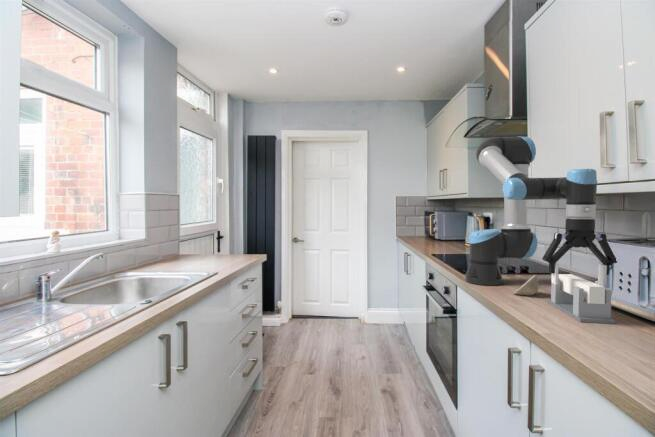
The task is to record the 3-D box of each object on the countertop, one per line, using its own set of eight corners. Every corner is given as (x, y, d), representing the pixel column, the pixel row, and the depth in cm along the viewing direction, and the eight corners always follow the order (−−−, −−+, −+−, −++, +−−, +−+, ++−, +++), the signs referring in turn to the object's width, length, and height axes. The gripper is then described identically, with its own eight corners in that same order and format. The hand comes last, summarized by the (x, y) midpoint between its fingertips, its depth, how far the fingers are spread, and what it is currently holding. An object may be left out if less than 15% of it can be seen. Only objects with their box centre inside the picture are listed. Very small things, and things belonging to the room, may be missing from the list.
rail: (558, 288, 116) (558, 273, 115) (571, 288, 115) (571, 274, 115) (589, 303, 98) (589, 286, 98) (604, 303, 97) (604, 287, 97)
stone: (507, 294, 133) (518, 272, 135) (524, 303, 131) (535, 281, 133) (519, 292, 123) (530, 269, 125) (537, 302, 121) (548, 278, 123)
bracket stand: (548, 302, 118) (548, 275, 117) (576, 303, 116) (577, 276, 116) (580, 322, 98) (580, 290, 98) (615, 323, 96) (615, 291, 96)
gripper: (542, 218, 104) (540, 285, 106) (633, 218, 100) (630, 288, 101) (532, 217, 112) (530, 279, 113) (617, 217, 107) (614, 282, 108)
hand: (577, 284), depth 107 cm, fingers open, 13 cm apart
